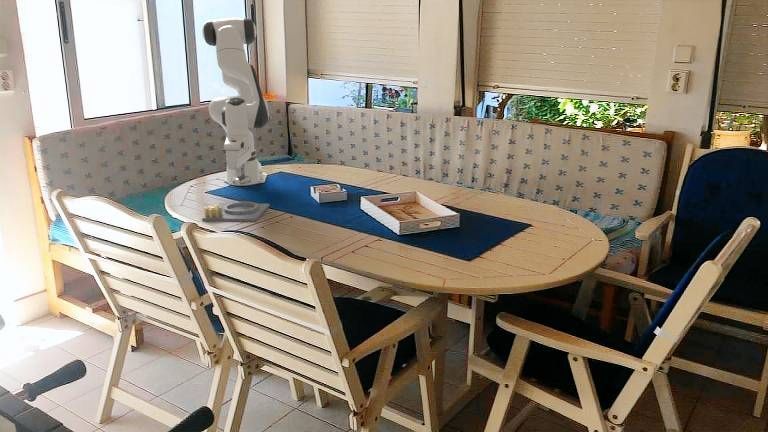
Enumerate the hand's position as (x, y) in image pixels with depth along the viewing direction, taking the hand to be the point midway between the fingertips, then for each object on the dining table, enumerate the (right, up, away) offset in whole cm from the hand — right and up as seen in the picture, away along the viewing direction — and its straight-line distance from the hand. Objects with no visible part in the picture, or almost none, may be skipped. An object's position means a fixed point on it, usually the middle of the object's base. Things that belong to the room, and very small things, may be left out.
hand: (241, 174), depth 252 cm
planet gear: (0, -3, +1) cm, 3 cm away
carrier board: (+1, -15, -11) cm, 19 cm away
